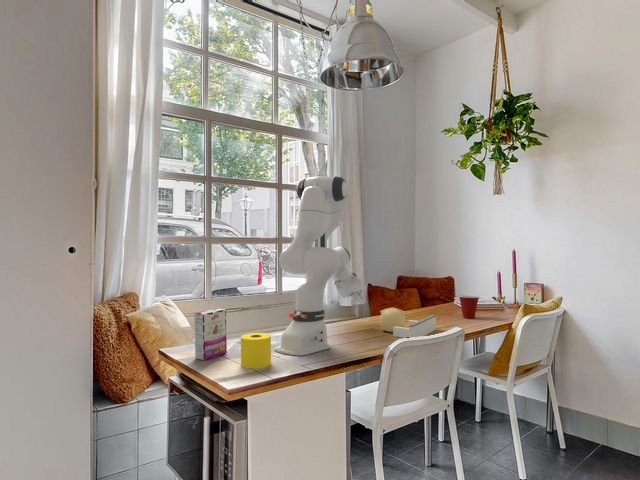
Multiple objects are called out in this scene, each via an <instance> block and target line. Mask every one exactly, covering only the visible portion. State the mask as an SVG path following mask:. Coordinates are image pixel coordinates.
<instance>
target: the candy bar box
mask: <svg viewBox="0 0 640 480" xmlns="http://www.w3.org/2000/svg"><path fill="white" fill-rule="evenodd" d="M194 343H195V344H194V345H195V346H194V347H195V348H194V350H195V351H194V352H195V353H194V354H195V359H196V360H199V361H200V360H201V361H208V360H211V359H214V358H216V357H219V356H222V355H225V354H227V353H228V352H227V350H228V348H227V347H228V346H227V343H228V342H227V309H225V308H215V309H214V308H213V309H209V310H204V311H199V312H195V313H194Z"/></svg>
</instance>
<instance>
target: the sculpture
mask: <svg viewBox="0 0 640 480" xmlns="http://www.w3.org/2000/svg"><path fill="white" fill-rule="evenodd" d="M405 313H406V311H405V310H402V309H400V308H396V307H389V308H388V307H387V308H384V309H381V310H380V316H379V324H380V327H381V329H382V330H383V331H386V332H390V333H393V327H395V326H396V327H405V326H406V316H405ZM405 328H406V327H405Z"/></svg>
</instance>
